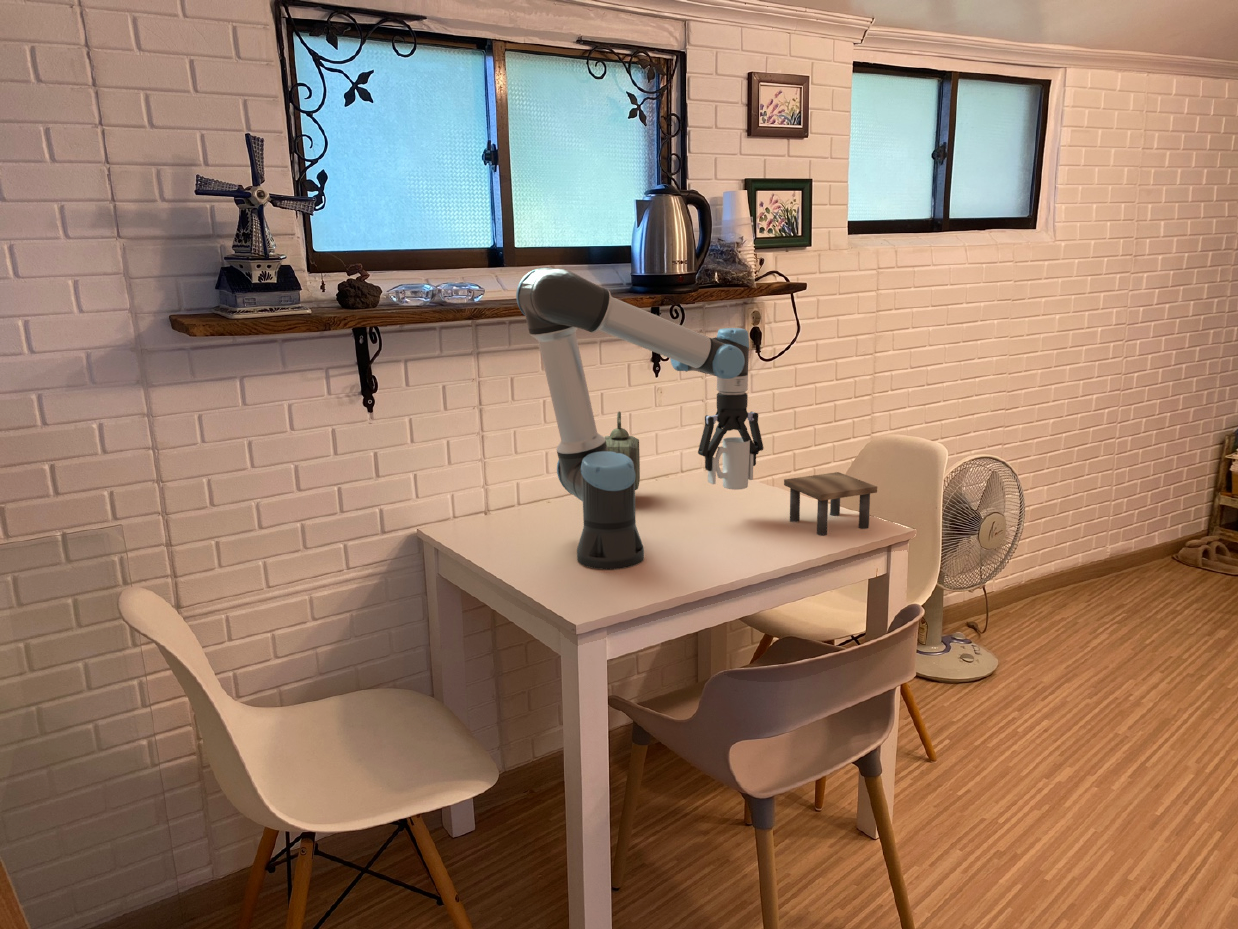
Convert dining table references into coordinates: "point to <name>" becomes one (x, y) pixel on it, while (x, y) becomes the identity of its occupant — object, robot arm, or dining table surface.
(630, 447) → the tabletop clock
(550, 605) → the dining table surface
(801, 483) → the small wooden stand
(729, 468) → the mug
